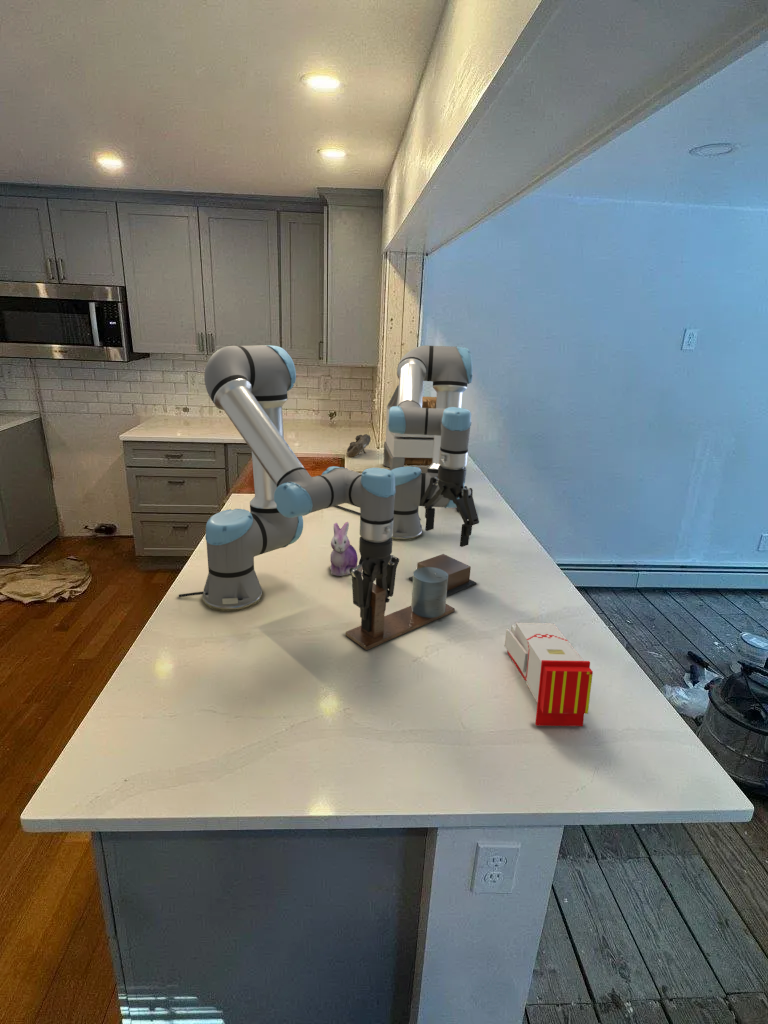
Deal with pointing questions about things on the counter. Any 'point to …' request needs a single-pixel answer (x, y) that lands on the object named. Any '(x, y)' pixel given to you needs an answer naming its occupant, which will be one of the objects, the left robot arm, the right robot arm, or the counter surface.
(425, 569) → the wooden base with post
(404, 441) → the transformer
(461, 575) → the lid
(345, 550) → the figurine
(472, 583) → the coaster
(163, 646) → the counter surface
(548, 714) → the toy
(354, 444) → the fossil
